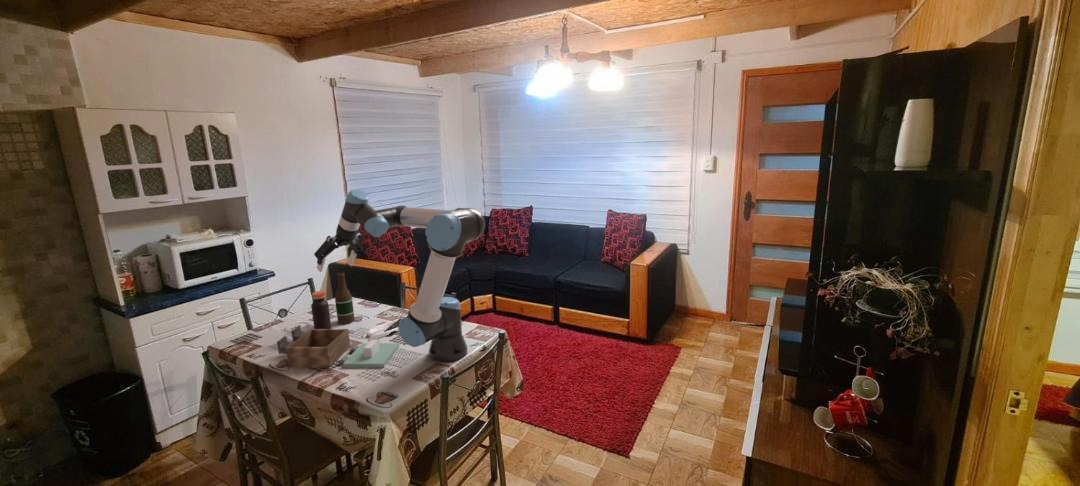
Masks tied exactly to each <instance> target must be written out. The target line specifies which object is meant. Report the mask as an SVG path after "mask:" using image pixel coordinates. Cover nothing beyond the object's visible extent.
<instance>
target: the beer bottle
mask: <svg viewBox="0 0 1080 486" xmlns="http://www.w3.org/2000/svg"><path fill="white" fill-rule="evenodd" d="M345 275H346V274H345V272H338V273H336V277H337V280H336V281H337V290H336V292H335V296H334V300H335V301H334V302H335V310H336V311H335V312H336V317H337V318H336V319H337V323H338V324H339V325H349V324H351V323H353V322H355V313H354V312H355V311H354V304H353V297H352V294H351V292H350V290H349V289H348V287H347V282H346V278H345Z"/></svg>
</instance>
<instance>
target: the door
mask: <svg viewBox="0 0 1080 486" xmlns="http://www.w3.org/2000/svg"><path fill="white" fill-rule="evenodd" d="M399 348H400V343H397V342H394V343H391V342H390V343H389V342H388V343H387V342H385V343H383V342H380V338H379V339H371V340H369V341H368V342H366V343H365V342H363V343H361V344H360V345H358V344H354V346H352V347H350V349H349V353H350V356H349V357H348V356H347V355H344V356H342V357H341V358H340V360H338V365H339V366H342V367H343V368H350V369H351V368H353V369H354V368H361V369H362V368H363V369H364V368H367V369H368V368H371V369H372V368H375V369H376V368H379V369H380V368H385V367H386V365H387V364H388V363H389V361H390V360H391V359H392V357H393V356H394V354H396V351H398V349H399Z"/></svg>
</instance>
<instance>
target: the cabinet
mask: <svg viewBox="0 0 1080 486" xmlns="http://www.w3.org/2000/svg"><path fill="white" fill-rule="evenodd" d="M291 337H292V341H288V336H287V335H285V336H283V337H281V338H280V339H278V340H277V341H276V344H277V345H276V346H277V350H278V355H286V356H287V362H288V368H290V367H293V368H294V367H296V368H297V369H298V368H299V367H300V368H303V369H304V368H310V369H311V368H318V369H319V368H321V369H322V368H331V367H332V366H333V365H334V364H335V363H336V362H338V361H339V359H341V358H342V357H343V355H344V354H345V353H346V352H347V351H348V350H350V349H351V342H350V341H351V340H350V332H349V328H331V329H314V328H310V329H309V330H308V331H302V328H301V326H300V325H299V326H296V327H295V328H293V329H292V330H291ZM293 368H292V369H293ZM290 369H291V368H290Z"/></svg>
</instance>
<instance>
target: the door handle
mask: <svg viewBox="0 0 1080 486" xmlns="http://www.w3.org/2000/svg"><path fill="white" fill-rule="evenodd" d="M402 318H404V317H401V318H398V319H395V320H391V321H388V322H386V323H383V324H380V325H378V326H375V327H373V328H371V329H368V330H367V331H365V332H364V333H363V335H362V338H363V339H365V338H367V337H369V338H368V341H371V339H379V340H380V339H381V338H384V337H387V335H388V336H390V335H389V334H390V333H391V332H393V331H398V332H399V330H398V326H397V327H395V328H393V329H389V330H386V331H383V332H380V333H377V332H379V331H380V330H383V329H385V328H387V327H388V326H389V327H391V326H390V325H392V324H393V323H395V322H397V321H398V320H399V319H402ZM392 326H393V325H392Z"/></svg>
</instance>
